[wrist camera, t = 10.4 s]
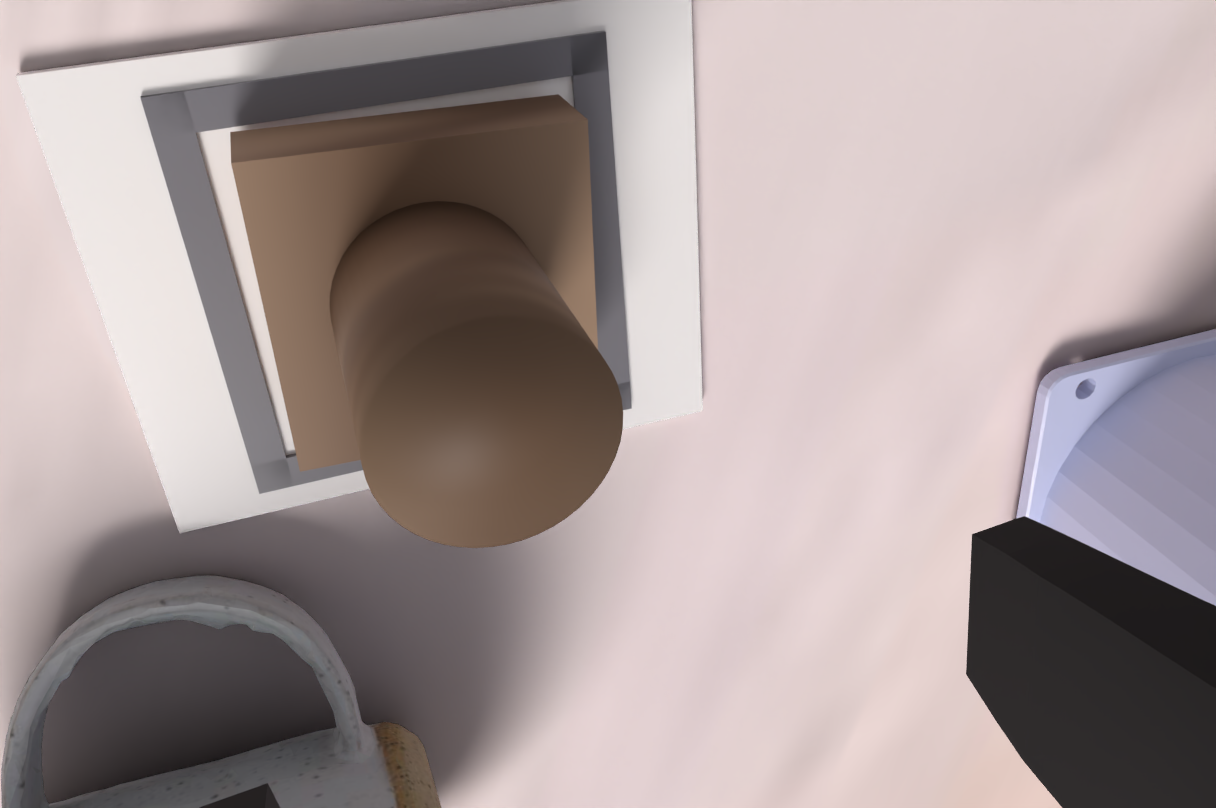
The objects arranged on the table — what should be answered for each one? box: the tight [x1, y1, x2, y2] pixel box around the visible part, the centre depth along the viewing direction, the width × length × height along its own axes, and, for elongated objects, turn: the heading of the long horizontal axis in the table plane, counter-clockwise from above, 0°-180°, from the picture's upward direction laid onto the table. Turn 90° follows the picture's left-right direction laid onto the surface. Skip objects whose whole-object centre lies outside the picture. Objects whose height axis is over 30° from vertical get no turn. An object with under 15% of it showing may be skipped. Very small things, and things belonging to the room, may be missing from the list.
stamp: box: [230, 94, 623, 548], centre depth 15 cm, size 5×5×6 cm
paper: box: [16, 0, 703, 534], centre depth 18 cm, size 10×8×1 cm
